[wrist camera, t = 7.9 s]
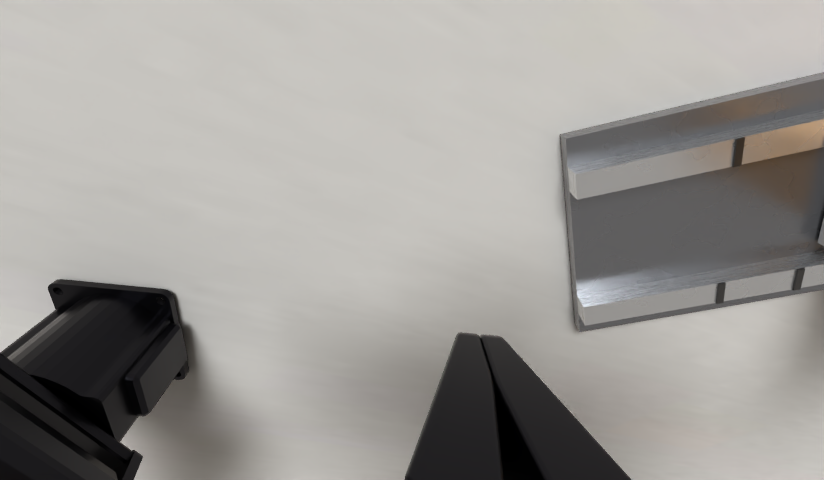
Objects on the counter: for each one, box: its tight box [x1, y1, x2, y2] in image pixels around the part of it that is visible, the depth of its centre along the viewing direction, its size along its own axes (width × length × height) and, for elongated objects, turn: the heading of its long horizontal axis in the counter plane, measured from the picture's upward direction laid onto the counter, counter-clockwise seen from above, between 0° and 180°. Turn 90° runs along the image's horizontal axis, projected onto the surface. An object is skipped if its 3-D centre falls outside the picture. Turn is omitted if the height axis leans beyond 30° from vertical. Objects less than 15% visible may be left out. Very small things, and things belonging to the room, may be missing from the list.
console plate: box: [560, 73, 824, 332], centre depth 18 cm, size 20×11×3 cm, turn 104°
